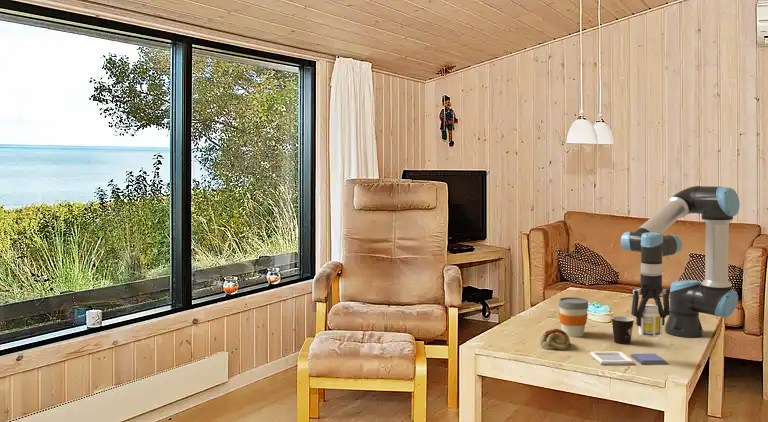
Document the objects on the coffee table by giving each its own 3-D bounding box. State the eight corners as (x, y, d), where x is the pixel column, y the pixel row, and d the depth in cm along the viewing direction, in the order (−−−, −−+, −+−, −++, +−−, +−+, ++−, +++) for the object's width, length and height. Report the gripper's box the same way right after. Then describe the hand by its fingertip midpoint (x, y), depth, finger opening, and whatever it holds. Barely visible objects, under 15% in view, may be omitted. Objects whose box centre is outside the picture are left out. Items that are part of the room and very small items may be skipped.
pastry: (549, 352, 263) (549, 332, 262) (532, 344, 275) (532, 324, 274) (579, 349, 267) (580, 329, 267) (562, 341, 279) (562, 322, 279)
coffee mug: (619, 345, 271) (620, 321, 271) (606, 340, 280) (607, 316, 279) (643, 343, 274) (644, 319, 274) (630, 338, 283) (631, 315, 282)
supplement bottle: (654, 332, 255) (655, 303, 254) (662, 337, 249) (662, 307, 248) (638, 333, 255) (638, 304, 254) (645, 337, 248) (645, 308, 247)
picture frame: (620, 355, 259) (620, 351, 259) (633, 364, 247) (633, 360, 247) (590, 355, 258) (590, 351, 258) (601, 365, 247) (601, 361, 246)
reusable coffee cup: (584, 330, 295) (585, 297, 294) (590, 338, 283) (591, 303, 281) (555, 330, 296) (556, 296, 295) (560, 337, 284) (561, 303, 283)
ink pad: (655, 356, 257) (655, 352, 257) (667, 364, 247) (667, 360, 247) (630, 356, 257) (630, 353, 257) (641, 364, 247) (641, 361, 247)
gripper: (672, 271, 253) (670, 330, 256) (621, 272, 253) (621, 331, 255) (681, 275, 246) (680, 335, 248) (629, 276, 245) (628, 337, 248)
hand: (650, 333), depth 252 cm, fingers closed on supplement bottle, 6 cm apart
